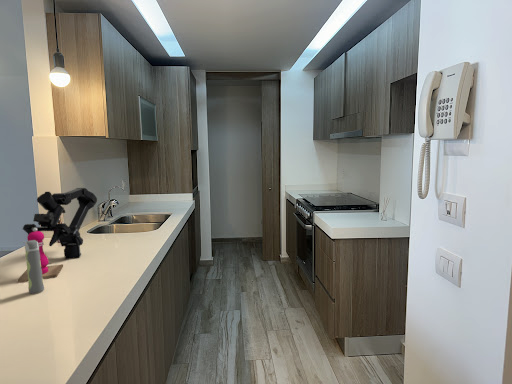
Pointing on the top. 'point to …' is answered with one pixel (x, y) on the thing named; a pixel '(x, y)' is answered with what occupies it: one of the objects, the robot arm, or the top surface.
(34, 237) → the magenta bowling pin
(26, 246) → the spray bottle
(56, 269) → the taupe cutting board
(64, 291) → the top surface
